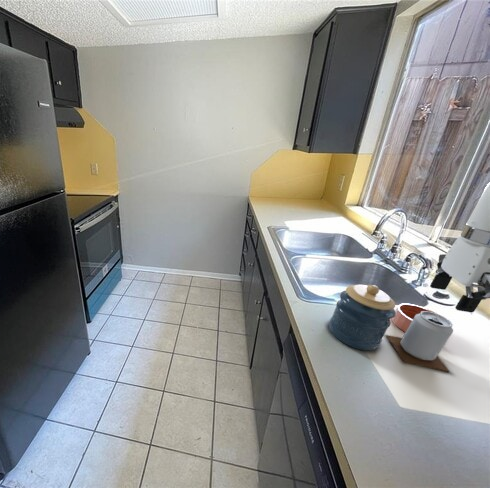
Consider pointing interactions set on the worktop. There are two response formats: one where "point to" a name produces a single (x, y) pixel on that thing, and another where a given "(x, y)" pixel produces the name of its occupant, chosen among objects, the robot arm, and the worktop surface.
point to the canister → (362, 316)
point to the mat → (413, 360)
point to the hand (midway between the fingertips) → (449, 298)
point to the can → (426, 335)
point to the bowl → (407, 315)
